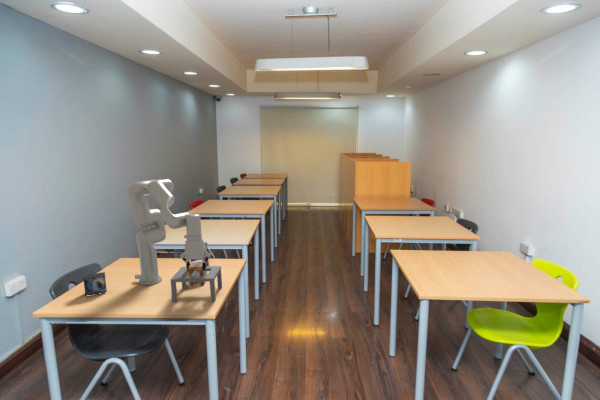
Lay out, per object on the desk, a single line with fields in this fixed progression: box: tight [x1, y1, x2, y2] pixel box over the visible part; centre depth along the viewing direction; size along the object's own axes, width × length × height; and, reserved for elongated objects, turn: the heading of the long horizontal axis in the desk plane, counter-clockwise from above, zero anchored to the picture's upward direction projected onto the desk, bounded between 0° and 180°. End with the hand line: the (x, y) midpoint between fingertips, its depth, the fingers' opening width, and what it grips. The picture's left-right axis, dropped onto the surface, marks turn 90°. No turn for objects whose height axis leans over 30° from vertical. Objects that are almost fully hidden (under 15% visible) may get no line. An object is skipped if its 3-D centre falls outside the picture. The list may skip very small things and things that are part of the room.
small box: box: [83, 271, 108, 297], centre depth 211 cm, size 11×6×10 cm, turn 117°
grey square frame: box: [170, 265, 223, 303], centre depth 206 cm, size 22×19×14 cm
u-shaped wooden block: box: [188, 264, 206, 288], centre depth 205 cm, size 7×4×11 cm, turn 90°
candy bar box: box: [189, 240, 210, 266], centre depth 251 cm, size 11×5×16 cm, turn 113°
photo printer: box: [190, 260, 208, 277], centre depth 227 cm, size 10×4×12 cm, turn 123°
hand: (196, 269), depth 205 cm, fingers open, 7 cm apart
